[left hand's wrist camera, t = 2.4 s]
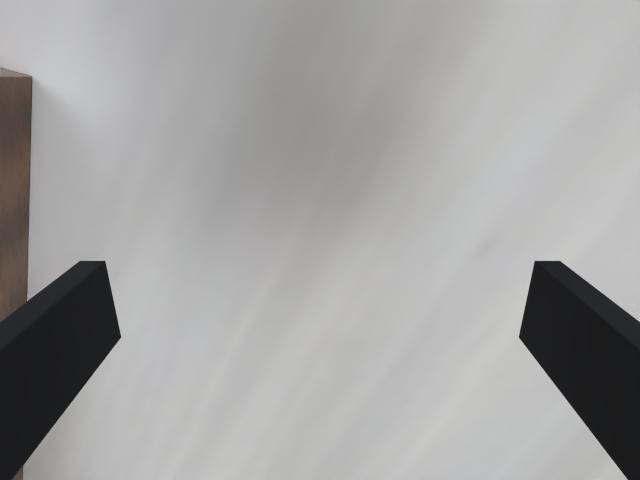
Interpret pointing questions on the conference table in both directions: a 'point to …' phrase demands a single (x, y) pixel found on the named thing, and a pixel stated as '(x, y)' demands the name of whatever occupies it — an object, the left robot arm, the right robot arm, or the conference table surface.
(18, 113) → the beam
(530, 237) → the conference table surface
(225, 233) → the conference table surface
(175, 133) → the conference table surface
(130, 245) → the conference table surface
